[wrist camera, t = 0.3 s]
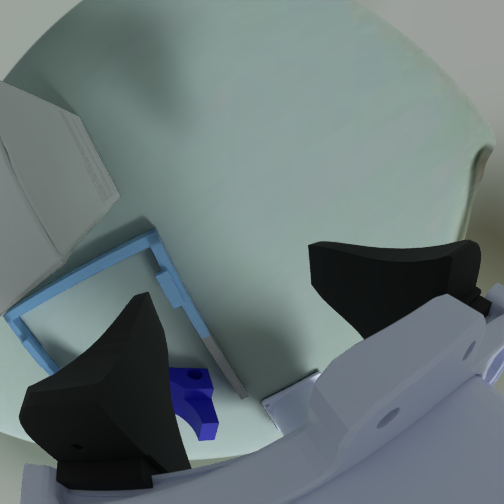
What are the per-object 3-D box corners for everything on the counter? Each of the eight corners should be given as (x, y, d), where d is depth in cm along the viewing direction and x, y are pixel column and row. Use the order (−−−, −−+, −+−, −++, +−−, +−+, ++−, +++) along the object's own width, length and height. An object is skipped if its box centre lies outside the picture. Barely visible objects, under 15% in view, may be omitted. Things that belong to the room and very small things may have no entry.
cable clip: (207, 367, 25) (221, 412, 19) (201, 396, 26) (214, 439, 21) (85, 357, 20) (76, 404, 15) (91, 389, 21) (86, 434, 16)
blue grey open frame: (245, 388, 27) (249, 399, 26) (122, 433, 24) (122, 443, 23) (155, 227, 19) (155, 233, 17) (8, 309, 16) (0, 318, 15)
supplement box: (9, 172, 13) (-105, 202, 2) (81, 114, 14) (-14, 63, 3) (51, 251, 17) (-32, 351, 5) (124, 199, 17) (68, 264, 6)
